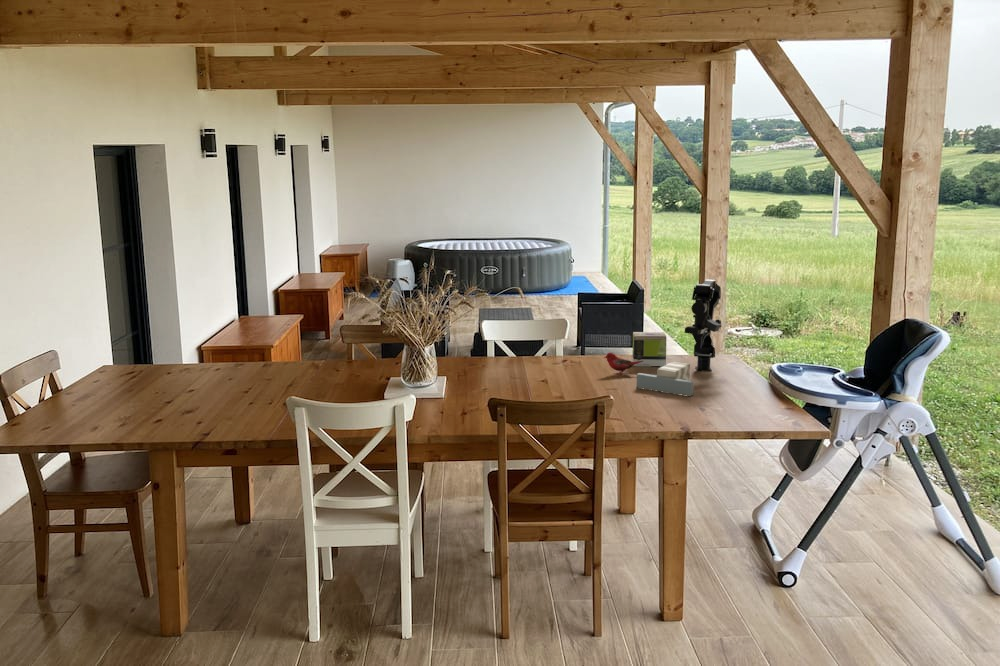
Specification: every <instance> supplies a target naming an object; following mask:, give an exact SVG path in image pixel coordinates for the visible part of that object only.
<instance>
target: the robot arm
mask: <svg viewBox="0 0 1000 666" xmlns="http://www.w3.org/2000/svg"><path fill="white" fill-rule="evenodd" d="M721 299H722V288H721V286H720V285H718V283H717V280H715V279H704V281H703V283H696V284H695V286H694V287H693V291H692V297H691V300H692V301H694V303H693V304H692V305H691V312H692V313H693V315H692V317H693V318H694V323H692V325H688V326H686V327H685V328H684V334H690V335H692V338H693V340H694V342H695V343H694V345H693V357H697V361H696V362H697V363H696V364H697V365H696V366H695V369H696V371H698V372H712V371H713V370H712V368H711V359H713V358H716V348H715V345H714V342H713V339H712V336H711V334H712V332H714V333H716V332H719V330H720V329H721V328H722V320H721V319H716V320H714V313H715V308H716V307H717V306H718V305H719V303H720V300H721Z"/></svg>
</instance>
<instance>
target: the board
mask: <svg viewBox="0 0 1000 666" xmlns="http://www.w3.org/2000/svg"><path fill="white" fill-rule="evenodd" d="M637 387H638V388H637ZM636 388H637V389H640V388H644V389H643V390H646V389H652V390H657V391H656V392H658V391H663V392H662V393H664V392H668V393H667V394H670V393H675V394H674V395H676V394H682V395H687V396H686V397H688V396H691V395H693V396H694V381H693V380H689V381H688V380H682V379H675V378H669V377H662V376H657V374H656V375H655V374H649V373H641V372H638V373H637V374H636ZM652 390H651V391H652ZM682 395H681V396H682ZM691 397H692V396H691Z"/></svg>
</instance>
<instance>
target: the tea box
mask: <svg viewBox="0 0 1000 666" xmlns="http://www.w3.org/2000/svg"><path fill="white" fill-rule="evenodd" d="M637 361H643V362H640V363H637V364H635V365H633V367H651V366H660V367H659V368H661V367H663V366H664V365H666V364H667V334H666V332H664V331H661V332H659V331H657V332H656V331H646V332H645V331H633V332H632V362H637Z"/></svg>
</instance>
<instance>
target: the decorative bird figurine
mask: <svg viewBox="0 0 1000 666" xmlns="http://www.w3.org/2000/svg"><path fill="white" fill-rule="evenodd" d="M604 358H605V359H606V361H607V362H608V365H609V367H610V368H611V369H612V370H614V371H618V372H613V373H612V374H614V375H623V374H624V371H626V370H628V369H631V368H632V367H634V365H635V364H637V363H640V362H643V361H637V362H633V361H631V360H628V359H625V358H623V357H618V356H617V355H616V354H614V353H612V352H608V353H606V355H605V356H604Z"/></svg>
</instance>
